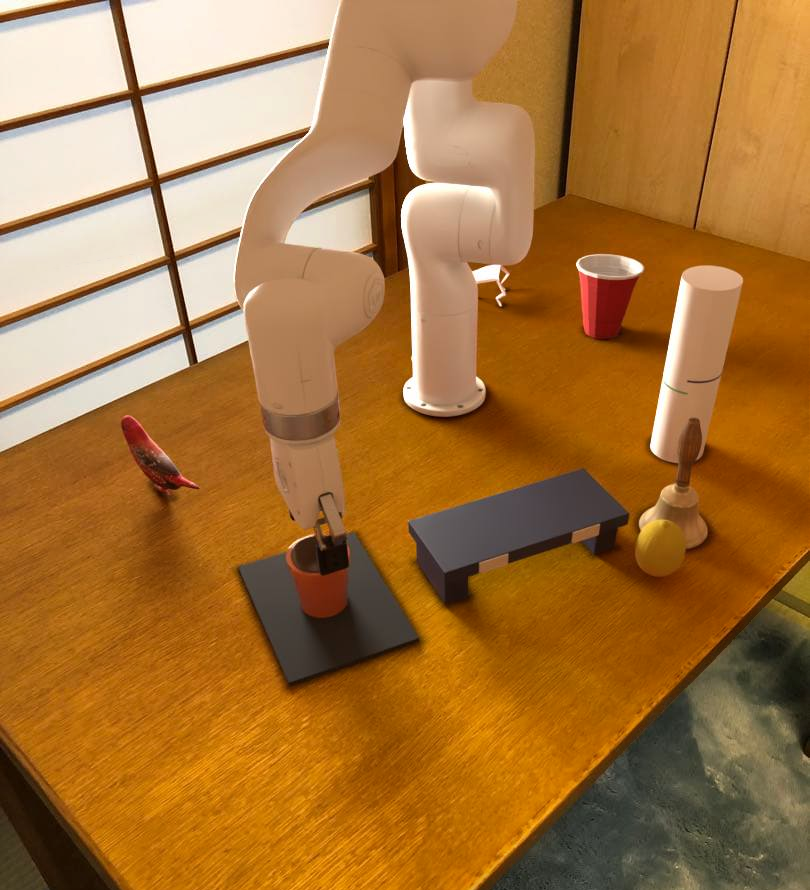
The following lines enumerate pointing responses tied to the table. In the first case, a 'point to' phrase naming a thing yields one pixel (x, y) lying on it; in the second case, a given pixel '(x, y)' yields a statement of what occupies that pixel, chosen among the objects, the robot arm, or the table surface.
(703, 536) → the hand bell
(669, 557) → the lemon
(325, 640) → the mat
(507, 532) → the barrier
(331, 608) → the pot
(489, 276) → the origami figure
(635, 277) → the plastic cup
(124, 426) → the decorative bird figurine
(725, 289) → the cylindrical container
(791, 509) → the table surface
